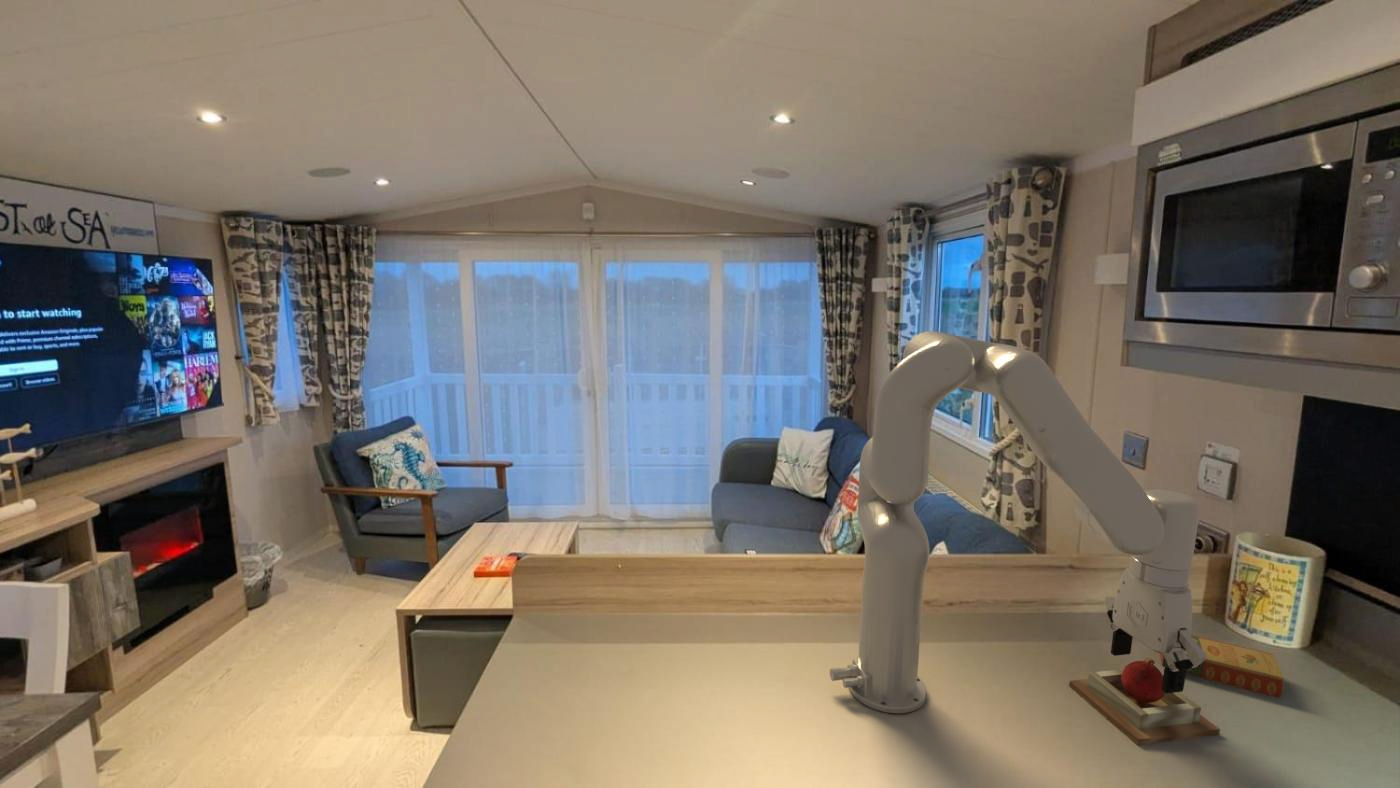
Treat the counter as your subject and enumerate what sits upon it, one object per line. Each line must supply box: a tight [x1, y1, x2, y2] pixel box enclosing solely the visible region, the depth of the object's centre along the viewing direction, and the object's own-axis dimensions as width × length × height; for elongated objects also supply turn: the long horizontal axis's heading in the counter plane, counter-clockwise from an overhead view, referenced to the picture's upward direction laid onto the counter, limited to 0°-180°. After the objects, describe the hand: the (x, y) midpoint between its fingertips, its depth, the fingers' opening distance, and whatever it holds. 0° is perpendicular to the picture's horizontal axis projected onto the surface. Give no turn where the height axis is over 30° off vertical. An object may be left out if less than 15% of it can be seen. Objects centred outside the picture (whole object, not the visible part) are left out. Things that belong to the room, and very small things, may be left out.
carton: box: [1159, 634, 1285, 699], centre depth 111 cm, size 8×16×4 cm, turn 58°
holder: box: [1068, 668, 1221, 746], centre depth 101 cm, size 14×14×4 cm
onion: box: [1121, 657, 1165, 703], centre depth 100 cm, size 6×6×8 cm
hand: (1145, 671), depth 100 cm, fingers open, 9 cm apart
